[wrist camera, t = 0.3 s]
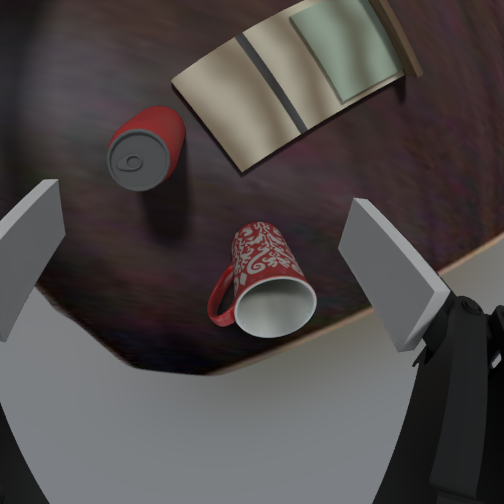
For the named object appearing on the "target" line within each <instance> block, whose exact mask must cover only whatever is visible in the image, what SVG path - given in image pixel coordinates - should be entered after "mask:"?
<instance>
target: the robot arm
mask: <svg viewBox="0 0 504 504" xmlns="http://www.w3.org/2000/svg"><path fill="white" fill-rule="evenodd" d="M64 236H65V229H64V222H63V216H62V209H61V201H60V193H59V183H58V179H49V180H43V181H42V182H41V183H39V184H38V185H37V186H36V187H35V188H34V189H33V190H32V191H31V192H30V193H28V194H27V195H26V196H25V197H24V198H23V199H22V200H21V201H20V202H19V203H18V204H17V205H16V206H15V207H14V208H13V209H12V210H11V211H10V212H9V213H8V214H7V215H6V216H5V217H4V218H3V219H2V220H1V221H0V341H2V342H6V340H7V338H8V335H9V333H10V331H11V329H12V327H13V325H14V323H15V321H16V319H17V317H18V315H19V313H20V311H21V309H22V307H23V305H24V303H25V302H26V300H27V298H28V296H29V294H30V292H31V291H32V289H33V287H34V285H35V284H36V282H37V280H38V278H39V277H40V275H41V273H42V271H43V270H44V268H45V266H46V265H47V263H48V261H49V260H50V258H51V257H52V255H53V253H54V252H55V250H56V249H57V247H58V246H59V244H60V242H61V241H62V239H63V238H64ZM338 250H339V251H340V253H341V254H342V256H343V258H344V259H345V261H346V262H347V264H348V266H349V267H350V269H351V271H352V272H353V274H354V275H355V277H356V279H357V280H358V282H359V284H360V285H361V287H362V289H363V291H364V292H365V294H366V296H367V297H368V299H369V301H370V303H371V304H372V306H373V308H374V309H375V311H376V313H377V315H378V316H379V318H380V320H381V322H382V324H383V325H384V327H385V329H386V331H387V332H388V334H389V336H390V338H391V340H392V342H393V343H394V345H395V347H396V349H397V351H398V352H404V351H410V350H414V349H415V348H416V346H417V345H418V344H419V342H420V341H421V339H422V338H423V340H424V341H425V343H426V346H425V347H424V349H423V350H422V352H421V353H420V355H419V356H418V357H417V359H416V360H415V361H414V363H413V365H412V366H413V367H415V365H416V364H417V363H419V367H418V371H417V375H416V380H415V383H414V387H413V391H412V395H411V399H410V402H409V406H408V409H407V413H406V416H405V419H404V422H403V426H402V429H401V432H400V435H399V438H398V441H397V444H396V447H395V449H394V452H393V455H392V457H391V460H390V463H389V465H388V468H387V471H386V473H385V476H384V478H383V481H382V483H381V485H380V487H379V490H378V492H377V494H376V496H375V499H374V501H373V503H372V504H504V306H502V305H499V306H497V307H496V309H495V310H494V312H493V313H492V315H488V314H484V312H483V310H482V308H481V307H480V306H479V305H478V304H477V303H476V302H475V301H473V300H472V299H470V298H468V297H465V296H458V297H457V296H456V295H455V294H454V293H453V291H452V290H451V289H450V288H449V287H448V285H447V284H446V283H445V282H444V280H443V279H442V278H441V277H439V274H438V273H437V272H436V271H435V270H433V267H432V266H431V265H430V264H429V263H428V262H427V261H426V260H425V259H424V258H422V257H421V256H420V254H419V253H418V252H417V251H416V250H415V249H414V248H413V247H412V245H411V244H410V243H409V242H408V241H407V240H406V239H405V238H404V237H403V236H402V235H401V234H400V232H399V231H398V230H397V229H396V228H395V227H394V226H393V225H392V224H391V223H390V222H389V221H388V220H387V219H386V218H385V217H384V216H383V215H382V214H381V213H380V212H379V211H378V210H377V209H376V208H375V207H374V206H373V205H372V204H371V203H370V202H369V201H368V200H366V199H358V198H353V202H352V205H351V209H350V212H349V215H348V218H347V222H346V225H345V228H344V231H343V235H342V238H341V241H340V244H339V247H338ZM499 354H501V361H500V362H499V363H498V365H497V366H496V367H495V368H493V367H492V362H493V361H494V360H495V359H496V358H497V356H498V355H499ZM0 504H49V502H48V500H47V499H46V497H45V495H44V494H43V492H42V490H41V489H40V487H39V485H38V484H37V482H36V480H35V478H34V476H33V474H32V473H31V471H30V469H29V467H28V465H27V463H26V461H25V459H24V457H23V455H22V453H21V451H20V449H19V447H18V445H17V442H16V440H15V438H14V436H13V433H12V431H11V429H10V427H9V424H8V422H7V419H6V416H5V414H4V411H3V409H2V406H1V403H0Z"/></svg>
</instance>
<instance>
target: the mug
mask: <svg viewBox="0 0 504 504" xmlns="http://www.w3.org/2000/svg"><path fill="white" fill-rule="evenodd" d="M233 279H234V295H235V297H234V299H233V302H232V304H231V306H230V307H229V309H228V310H227V311H226V312H224V313H223V314H221V315H218V307H219V304H220V302H221V300H222V297H223V296H224V294H225V292H226V290H227V288H228V287H229V285H230V283H231V282H232V280H233ZM315 308H316V294H315V292H314V290H313V288H312V287H311V286H310V285H309V284H308V282H307V281H306V279H305V277H304V275H303V273H302V271H301V269H300V268H299V265H298V264H297V262H296V260H295V258H294V256H293V255H292V253H291V251H290V249H289V247H288V246H287V244H286V242H285V240H284V238H283V236H282V235H281V233H280V231H279V230H278V229H277V228H276V227H275V226H273V225H272V224H269V223H266V222H253V223H250V224H247V225H245V226H244V227H242V228H241V229H240V230H239V231H238V232H237V233H236V234H235V236H234V238H233V241H232V261H231V263H230V264H229V266H228V267H227V268H226V270H225V271H224V272H223V274H222V275H221V277H220V279H219V280H218V282H217V284H216V285H215V287H214V289H213V291H212V293H211V295H210V298H209V301H208V306H207V311H208V316H209V318H210V319H211V320H212V321H213V322H214V323H215V324H217V325H218V326H228V325H230V324H232V323H234V322H235V321H236V322H237V324H238V325H239V326H240V327H241V328H242V329H243V330H244V331H246V332H247V333H249V334H251V335H254V336H257V337H265V338H273V337H279V336H283V335H286V334H289V333H291V332H294V331H295V330H297V329H299V328H300V327H302V326H303V325H304V324H305V323H306V322H307V321H308V320H309V319H310V318H311V316H312V315H313V313H314V311H315Z"/></svg>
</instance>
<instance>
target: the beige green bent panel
mask: <svg viewBox="0 0 504 504" xmlns="http://www.w3.org/2000/svg"><path fill="white" fill-rule="evenodd" d="M404 75H408V76H413V77H419V76H421V75H423V73H422V70H421V68H420V66H419V63H418V61H417V59H416V56H415V54H414V52H413V50H412V48H411V46H410V44H409V41H408V39H407V37H406V35H405V33H404V31H403V29H402V27H401V25H400V24H399V22H398V20H397V18H396V16H395V14H394V12H393V11H392V9H391V7H390V5H389V4H388V2H387V0H304V1H302V2H300V3H298V4H296V5H294V6H292V7H290V8H288V9H285V10H283V11H281V12H279V13H278V14H276V15H274V16H272V17H270V18H268V19H266V20H264V21H262V22H260V23H259V24H257V25H255V26H253V27H251V28H250V29H248V30H246V31H245V32H243V33H241V34H239V35H238V36H236V37H234V38H233V39H231V40H229V41H228V42H226V43H225V44H223V45H221V46H220V47H218V48H217V49H215V50H214V51H212V52H211V53H209V54H208V55H206V56H205V57H203V58H202V59H200V60H199V61H197V62H196V63H194V64H193V65H191V66H190V67H189V68H187V69H186V70H184V71H183V72H182V73H180V74H179V75H177V76H176V77H175V78H173V79H172V80H171V82H172V83H173V84H174V86H175V87H176V88H177V89H178V91H179V92H180V93H181V94H182V96H183V97H184V98H185V99H186V101H187V102H188V103H189V104H190V106H191V107H192V108H193V109H194V111H195V112H196V113H197V114H198V116H199V117H200V118H201V120H202V121H203V122H204V123H205V125H206V126H207V127H208V129H209V130H210V131H211V132H212V134H213V135H214V136H215V138H216V139H217V140H218V141H219V143H220V144H221V145H222V147H223V148H224V149H225V151H226V152H227V153H228V155H229V156H230V157H231V158H232V160H233V161H234V162H235V164H236V165H237V166H238V168H239V169H240V170H241V172H243V171H245V170H246V169H248V168H249V167H251V166H252V165H254V164H255V163H257V162H258V161H260V160H261V159H263V158H264V157H266V156H267V155H269V154H270V153H272V152H273V151H275V150H277V149H278V148H280V147H281V146H283V145H284V144H286V143H288V142H289V141H291V140H292V139H294V138H296V137H297V136H299V135H300V134H303V133H304V132H306V131H307V130H308V129H310V128H312V127H313V126H315V125H317V124H318V123H320V122H322V121H323V120H325V119H327V118H328V117H330V116H332V115H333V114H335V113H337V112H339V111H340V110H342V109H344V108H345V107H347V106H349V105H351V104H352V103H354V102H356V101H358V100H359V99H361V98H363V97H365V96H367V95H368V94H370V93H372V92H374V91H376V90H377V89H379V88H381V87H383V86H385V85H387V84H389V83H390V82H392V81H394V80H396V79H398V78H400V77H402V76H404Z"/></svg>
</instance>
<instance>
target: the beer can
mask: <svg viewBox="0 0 504 504" xmlns="http://www.w3.org/2000/svg"><path fill="white" fill-rule="evenodd" d="M184 138H185V125H184V123H183V120H182V118H181V117H180V116H179V115H178V113H177V112H175V111H174V110H172V109H170V108H168V107H164V106H152V107H149V108H147V109H145V110H143V111H141V112H140V113H139V114H137V115H136V116H134V117H133V118H132V119H130V120H129V121H128V122H126V123H125V124H124V125H123V126H121V127H120V128H119V129H118V130H117V131H116V132H115V134H114V136H113V137H112V139H111V141H110V144H109V149H108V154H107V166H108V170H109V172H110V175H111V177H112V178H113V179H114V180H115V181H116V183H117V184H118V185H120V186H122V187H123V188H125V189H127V190H131V191H135V192H139V191H147V190H150V189H152V188H155V187H156V186H157V185H160V184H161V183H162V182H163V181H165V180H166V179H167V178H168V177H170V175H171V174H172V172H173V171H174V169H175V168H176V165H177V161H178V158H179V155H180V151H181V148H182V145H183V141H184Z"/></svg>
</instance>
